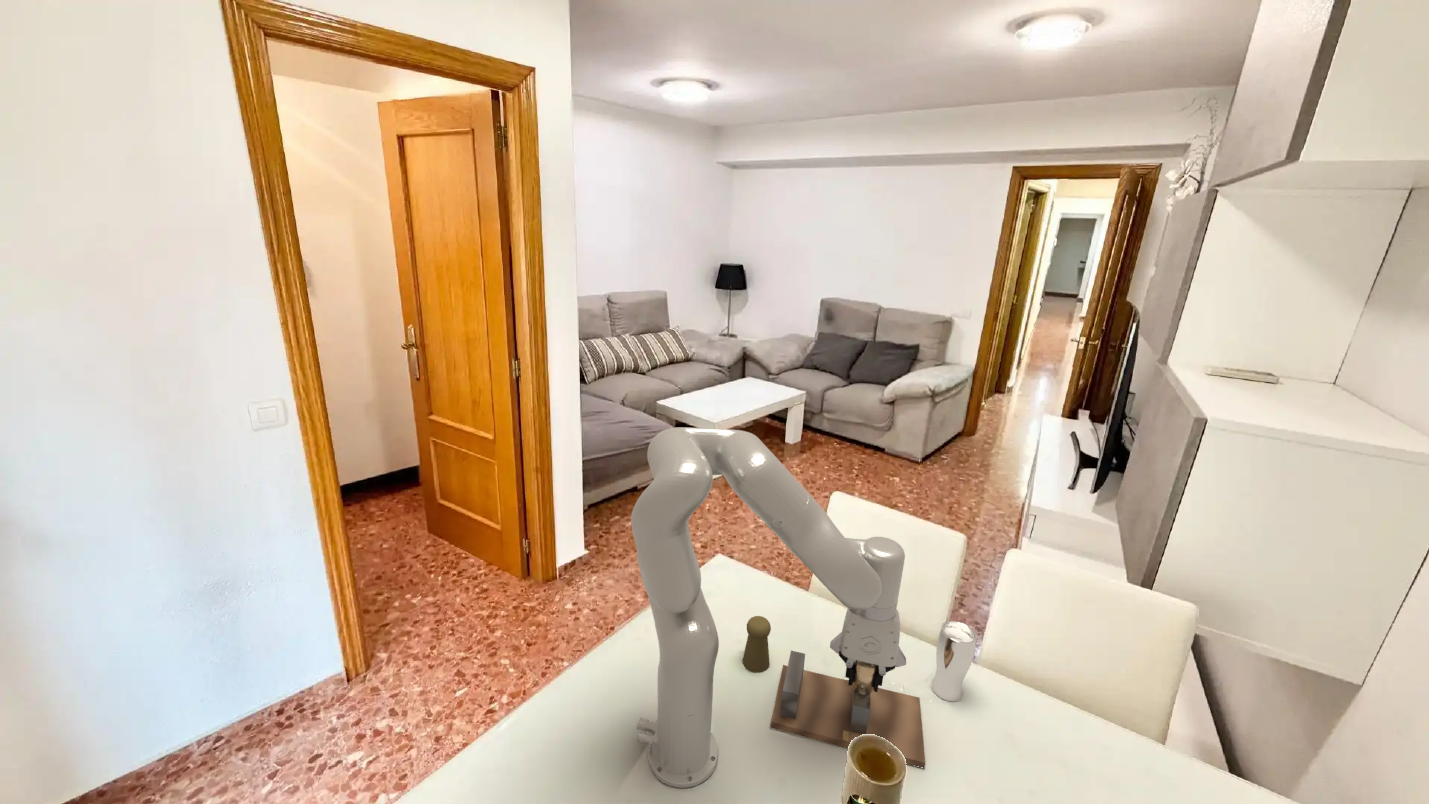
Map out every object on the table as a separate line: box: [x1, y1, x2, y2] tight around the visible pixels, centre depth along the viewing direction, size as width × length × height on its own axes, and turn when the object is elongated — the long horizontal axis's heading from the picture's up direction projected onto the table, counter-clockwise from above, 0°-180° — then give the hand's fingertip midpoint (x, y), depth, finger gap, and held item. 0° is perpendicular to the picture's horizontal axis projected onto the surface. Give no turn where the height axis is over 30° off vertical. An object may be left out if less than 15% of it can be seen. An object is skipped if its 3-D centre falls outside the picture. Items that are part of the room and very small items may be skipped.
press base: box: [769, 650, 926, 769], centre depth 108 cm, size 28×15×8 cm, turn 74°
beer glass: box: [930, 620, 978, 703], centre depth 114 cm, size 7×7×15 cm
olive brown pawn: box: [741, 615, 772, 674], centre depth 120 cm, size 6×6×11 cm
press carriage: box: [850, 660, 877, 734], centre depth 106 cm, size 4×10×12 cm, turn 164°
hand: (862, 682), depth 106 cm, fingers closed on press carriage, 4 cm apart
